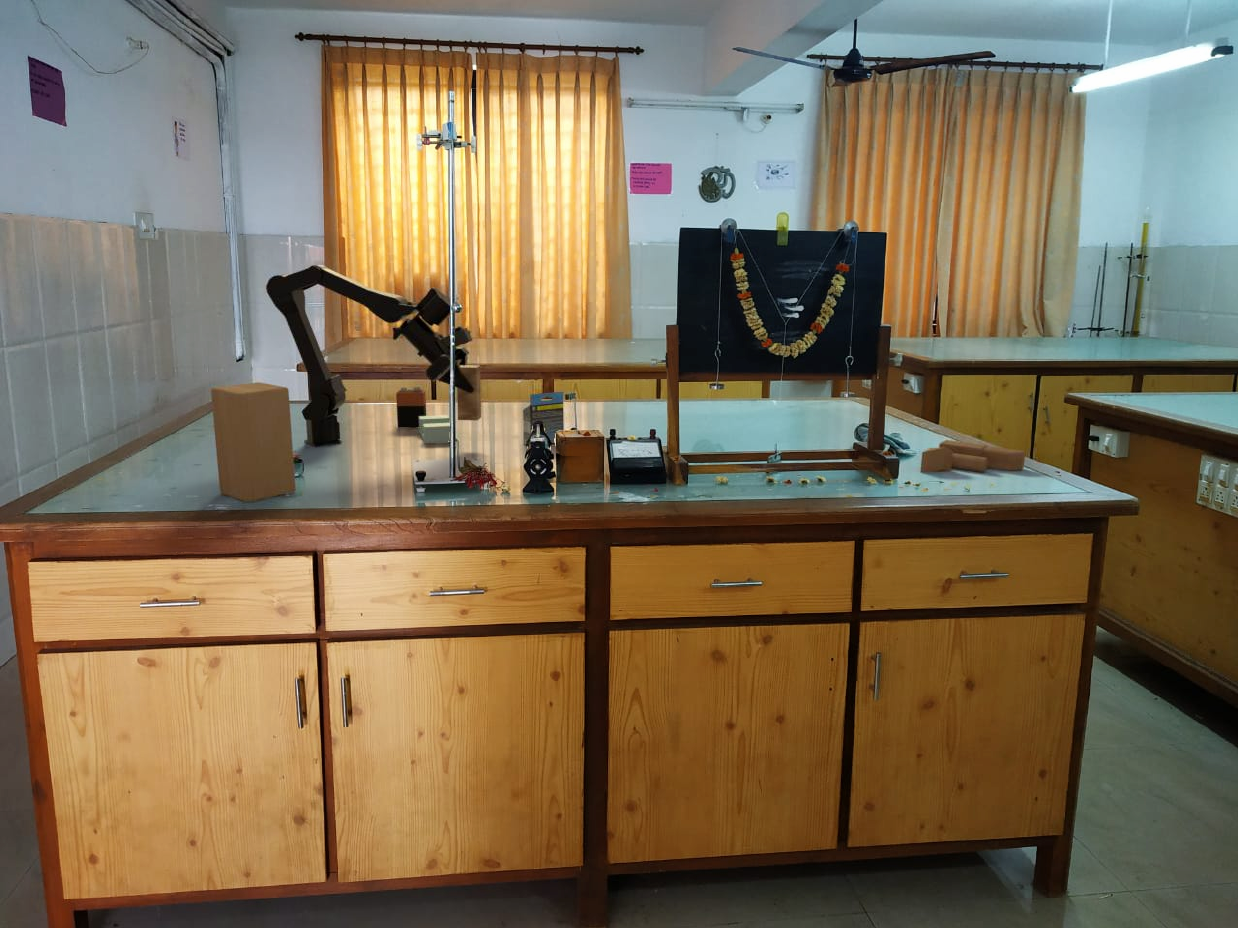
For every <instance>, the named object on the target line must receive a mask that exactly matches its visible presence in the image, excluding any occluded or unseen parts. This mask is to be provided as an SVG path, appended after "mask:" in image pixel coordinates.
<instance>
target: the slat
mask: <svg viewBox="0 0 1238 928" xmlns="http://www.w3.org/2000/svg"><path fill="white" fill-rule="evenodd" d="M460 371H461V372H462V373H463V375H464V376H465V377H466V379H467V380H468V381H469V383H470V384H471V386H472V387H473V388H474V391H473V392H472V393H469V392H467V391H464V390H462V389H459V388H457V387H456V393H457V395H456V396H457V397H456V399H457V401H456V402H457V420H458V421H479V420H480V419H481V418H482V391H481V390H482V389H481V387H482V385H481V365H479V364H467V365H460Z"/></svg>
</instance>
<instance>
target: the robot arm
mask: <svg viewBox="0 0 1238 928" xmlns="http://www.w3.org/2000/svg"><path fill="white" fill-rule="evenodd" d="M317 285H319V286H321V287H323V288H325V289H328V290H330V291H332V292H334V293H337V294H339V295H340V296H343V297H345V298H346V299H349V300H351V301H354V302H355V303H358V304H360V305H362V306H364V308H367V310H369V311H370V312H371V313H372V314H373V315H374V316H376V317H378V318H379V319H381V320H382V321H383V322H385V323H387V324H394V323H398V322H400V321H401V322H402V321H403V322H402V323H401V324H400V325H399V326H395V327H392V333H393V334H392V339H393V340H394V341H396V340H400V339H401V338H402V337H403V338H405V340H406V341H407V342H409V344H411V346H412V347H414V349H416V350H417V351H418V352H417V353H416V354H417V355H418V356H419V358H421V357H423V358H425V360H426V361H427V362H428V363H429V364H430V365H429V366H428V367H427V368H426V370H425V371H426V373H425V374H426V376H425V377H426V378H428V379H429V380H430V381H431V382H432V383H433V382H435V381H436V380H438V382H442V383H444V384H447V385H449V386H451V385H450V335H451V334H450V335H447V336H444V335H443V334H442V333H437V332H436V331H435V330H433V328H432V327H433V326H434V325H435V326H438V327H440V326H441V325H442V324H443V323H444V322H445V320H446V319H448V318H449V317H450V315H451V314H450V299H451V298H450V297H449V296H448V295H445V294H444V293H443V292H441V291H440V290H438V289H437V288H436V287H431V288H430V289H429V290H428V291H427V294H426V295H425V296H423V298H422V299H421V300H420V301H419V302H417V301H416V302H413V301H409V300H408V299H407V298H405V297H404V296H402V295H398V294H396V293H395V294H394V293H392V292H386V291H381V290H377V289H373V288H371V287H369V286H367V285H364V284H362V283H361V282H358V281H356V280H354V279H352V278H349V277H347V276H346V275H343V274H341V273H338V272H336V271H334V270H332V269H329V267H327V266H326V265H323V264H315V265H311V266H309V267H307V268H305V269H302V270H299V271H296V272H294V273H293V272H292V273H290V274H289V273H287V274H277V275H273V276H271V277H270V278H269V279H268V281H267V283H266V285H265V290H266V293H267V295H268V296H269V298H270V300H271V302H272V304H273V306H274V307H275V308H276V309H277V310H278V311H279V313H281V314H282V316H283V317H284V318H285V321H286V323H287V326H288V328H289V331H290V333H291V336H292V337H293V341H294V343H295V346H296V348H297V350H298V353H299V355H300V358H301V361H302V363H303V365H304V367H305V370H306V372H307V375H308V393H309V398H310V401H309V403H308V404H307V405H306V406H305V407H304V408H302V410H301V414H302V416H303V417H302V418H303V419H304V420H305V425H306V439H304V443H306V444H308V445H311V446H314V447H321V446H328V445H330V446H331V445H336V444H341V443H342V442H343V441H342V440H340V439H341V429H340V425H341V424H340V422H339V421H338V415H337V414H338V413H339V410H340V407H342V406H343V405H344V403H345V402H346V399H347V396H346V395H347V394H346V392H347V391H348V389H347V388H346V387H345V385H344V384H343V383H344V382H343V379H342V375H341V374H337V375H334V373H332V372H331V371H330V369H329V368H328V365H327V363H326V360H325V358H324V356H323V355H324V354H323V352H322V350H321V348H320V346H319V343H318V339H317V337H316V334H315V332H314V330H313V327H312V325H311V322H310V320H309V317H308V315H307V312H306V296H305V295H306V294H305V292H304V291H306V290H309V289H311V288H313V287H315V286H317ZM414 314H415V316H414V317H413V318H411V319H410V318H408V317H409V316H410V315H414ZM454 329H455V388H456V389H457V388H459V389H462V390H464V391H467V392H469V393H472V392H473V391H474V388H473V387H472V386H471V384H470V383H469V381H468V380H467V379H466V377H465V376H464V375H463V373H462V372H461V371H460V365H468V358H469V357H468V355H469V354H470V351H469V350H468V349H467V348H465V346H461V345H465V344H468V343H470V342H472V341H474V340H473V337H472V336H471V333H472V332H471V330H469V329H468V327H465V328H464V326H462V325H459V326H458V327H455V328H454ZM440 375H441V377H440V378H439V379H438V377H439V376H440Z"/></svg>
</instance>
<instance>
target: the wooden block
mask: <svg viewBox="0 0 1238 928" xmlns="http://www.w3.org/2000/svg"><path fill="white" fill-rule="evenodd" d="M210 394H211V407H212V418H213V428H214V440H215V449H216V450H215V451H216V461H217V462H216V464H217V472H218V474H217V475H218V482H219V484H218V485H219V492H220V494H221V495H224V494H225V496H227V495H228V496H227V497H230V496H231V497H230V498H233V497H234V498H233V499H236V498H237V500H239V499H240V501H242V500H243V501H242V502H245V501H246V503H251V502H250V501H253V502H256V501H255V500H258V501H261V500H260V499H262V500H266V499H265V498H267V499H270V498H269V497H271V498H274V497H273V496H276V497H278V496H277V495H280V496H283V495H282V494H285V495H287V494H286V493H289V494H291V493H290V492H294V491H295V492H296V477H295V464H294V463H295V462H294V449H293V433H292V420H291V407H290V396H289V395H290V393H289V388H288V387H284V386H280V385H275V384H269V383H265V382H260V381H259V382H248V383H242V384H235V385H234V384H233V385H225V386H217V387H212V388H211V389H210ZM295 492H294V493H295Z"/></svg>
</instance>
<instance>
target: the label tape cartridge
mask: <svg viewBox="0 0 1238 928" xmlns="http://www.w3.org/2000/svg"><path fill="white" fill-rule="evenodd" d="M529 397H530V398H529V401H530V402H529V405H528V406H526V407H525V408H523V411H522V415H523V416H522V417H523V418H522V419H523V421H522V423H523V426H522V427H523V429H522V430H523V445H525V443H526V442H527V440H528V438H529V437H530V435H531V430H532V426H533V422H534V421H536V420H540V421H542V422H543V423H544V428H545V432H546V434H547V435H548V437H549V438H550V440H551V441H552V443H554V438H555V433H556V431H558V430H564V431H565V428H564V424H565V423H564V391H556V392H544V393H543V392H542V393H531V394H530V395H529ZM546 398H548V400H542V399H546ZM549 398H551V399H549Z"/></svg>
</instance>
